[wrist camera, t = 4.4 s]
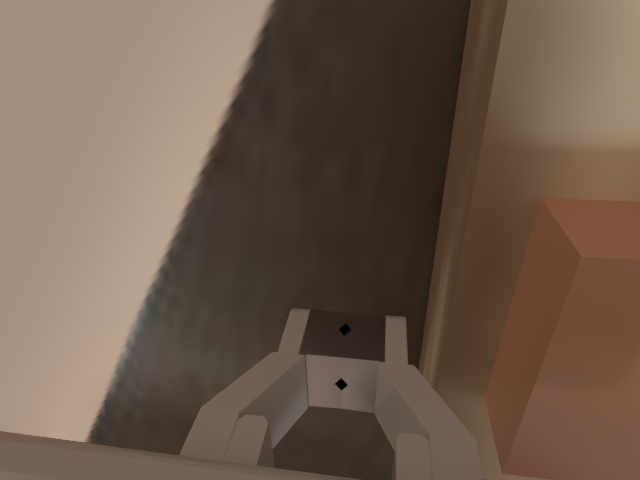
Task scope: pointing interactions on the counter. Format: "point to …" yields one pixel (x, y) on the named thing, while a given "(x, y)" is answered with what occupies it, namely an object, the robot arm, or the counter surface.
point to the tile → (572, 348)
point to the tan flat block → (523, 171)
